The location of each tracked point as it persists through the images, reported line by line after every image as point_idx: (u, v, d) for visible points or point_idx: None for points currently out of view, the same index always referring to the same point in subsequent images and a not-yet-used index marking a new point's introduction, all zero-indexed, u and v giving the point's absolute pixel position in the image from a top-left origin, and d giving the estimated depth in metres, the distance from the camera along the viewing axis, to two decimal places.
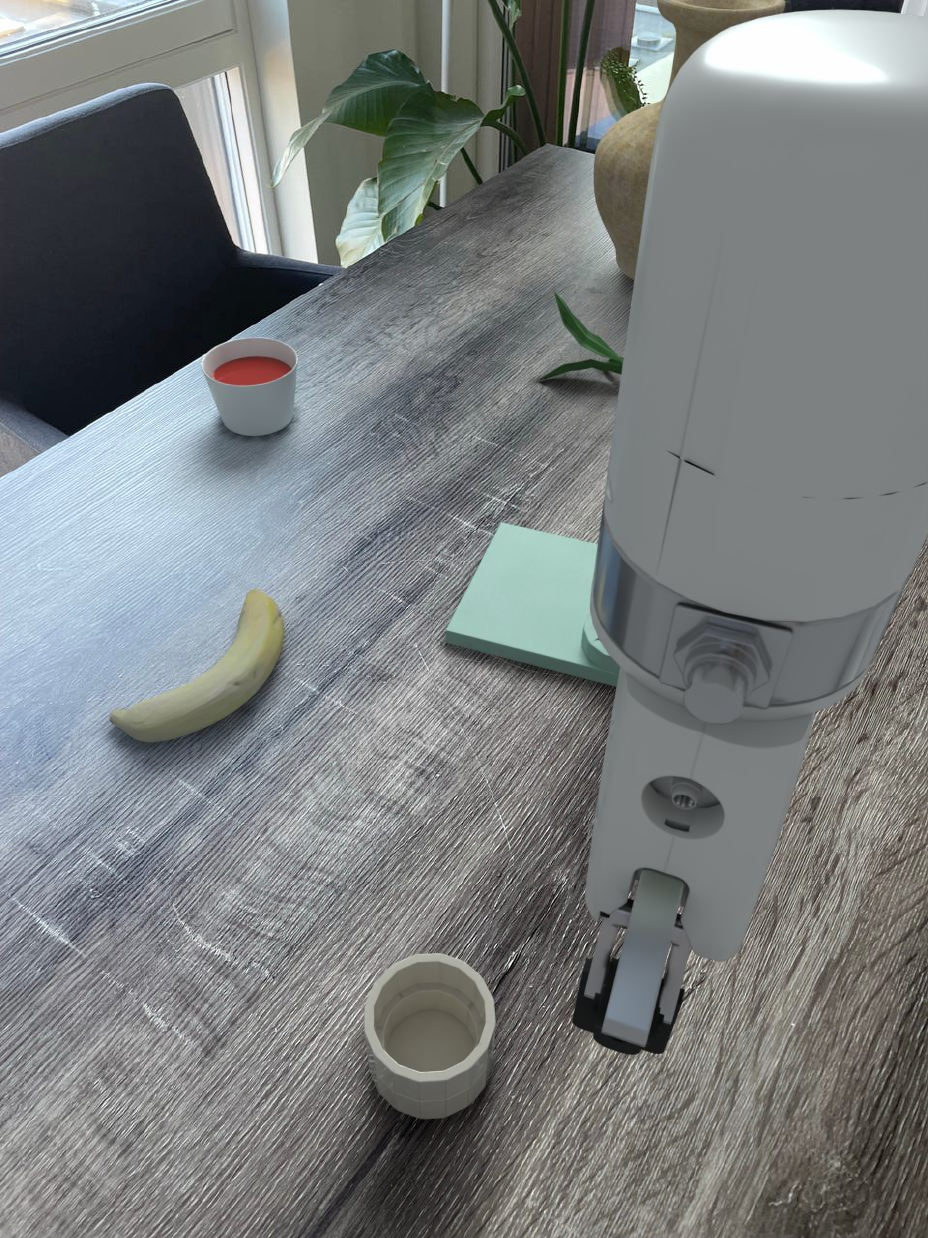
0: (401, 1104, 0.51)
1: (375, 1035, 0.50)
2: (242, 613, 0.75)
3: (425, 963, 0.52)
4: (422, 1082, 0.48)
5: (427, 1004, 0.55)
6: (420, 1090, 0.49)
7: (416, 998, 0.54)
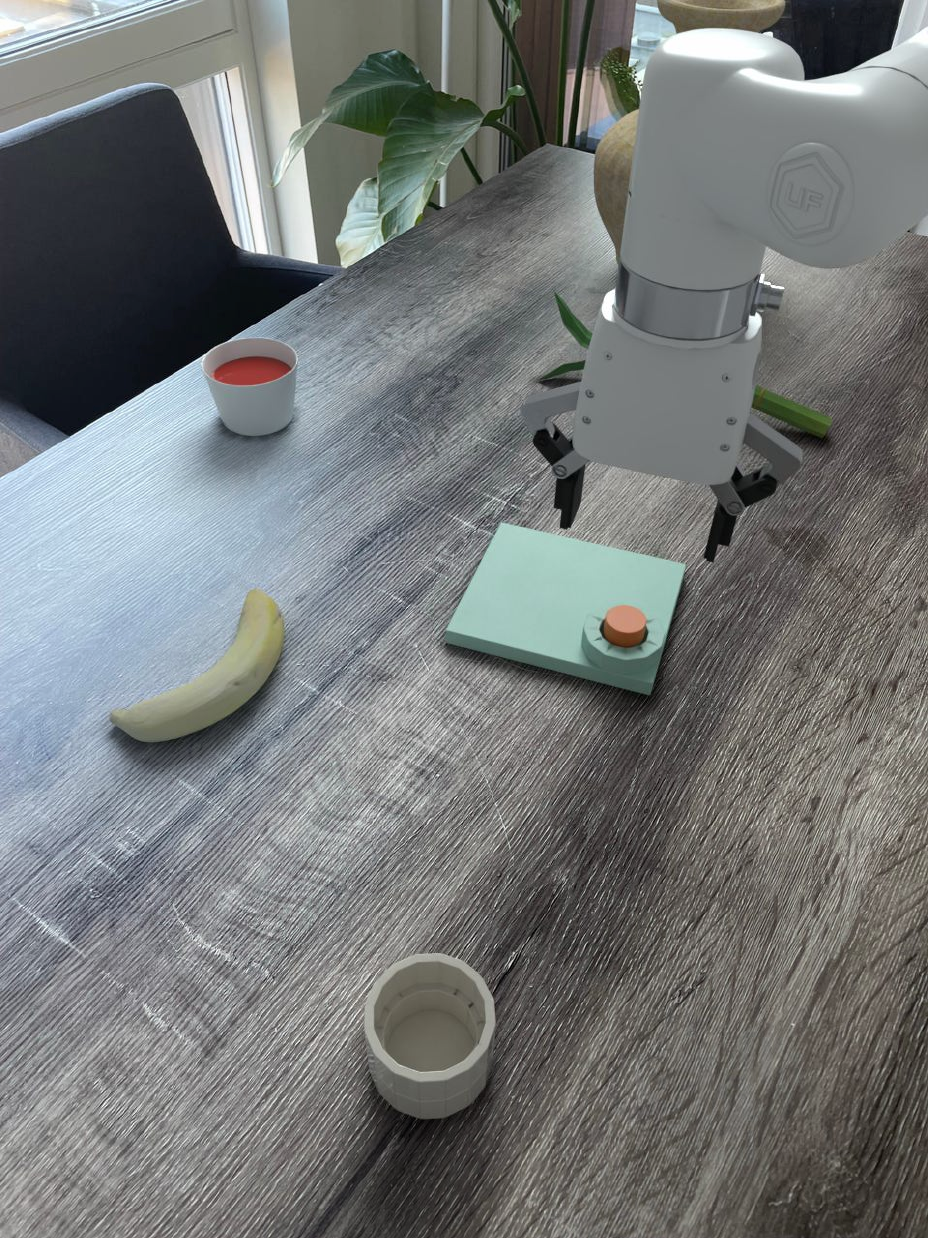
0: (401, 1104, 0.51)
1: (375, 1035, 0.50)
2: (242, 613, 0.75)
3: (425, 963, 0.52)
4: (422, 1082, 0.48)
5: (427, 1004, 0.55)
6: (420, 1090, 0.49)
7: (416, 998, 0.54)
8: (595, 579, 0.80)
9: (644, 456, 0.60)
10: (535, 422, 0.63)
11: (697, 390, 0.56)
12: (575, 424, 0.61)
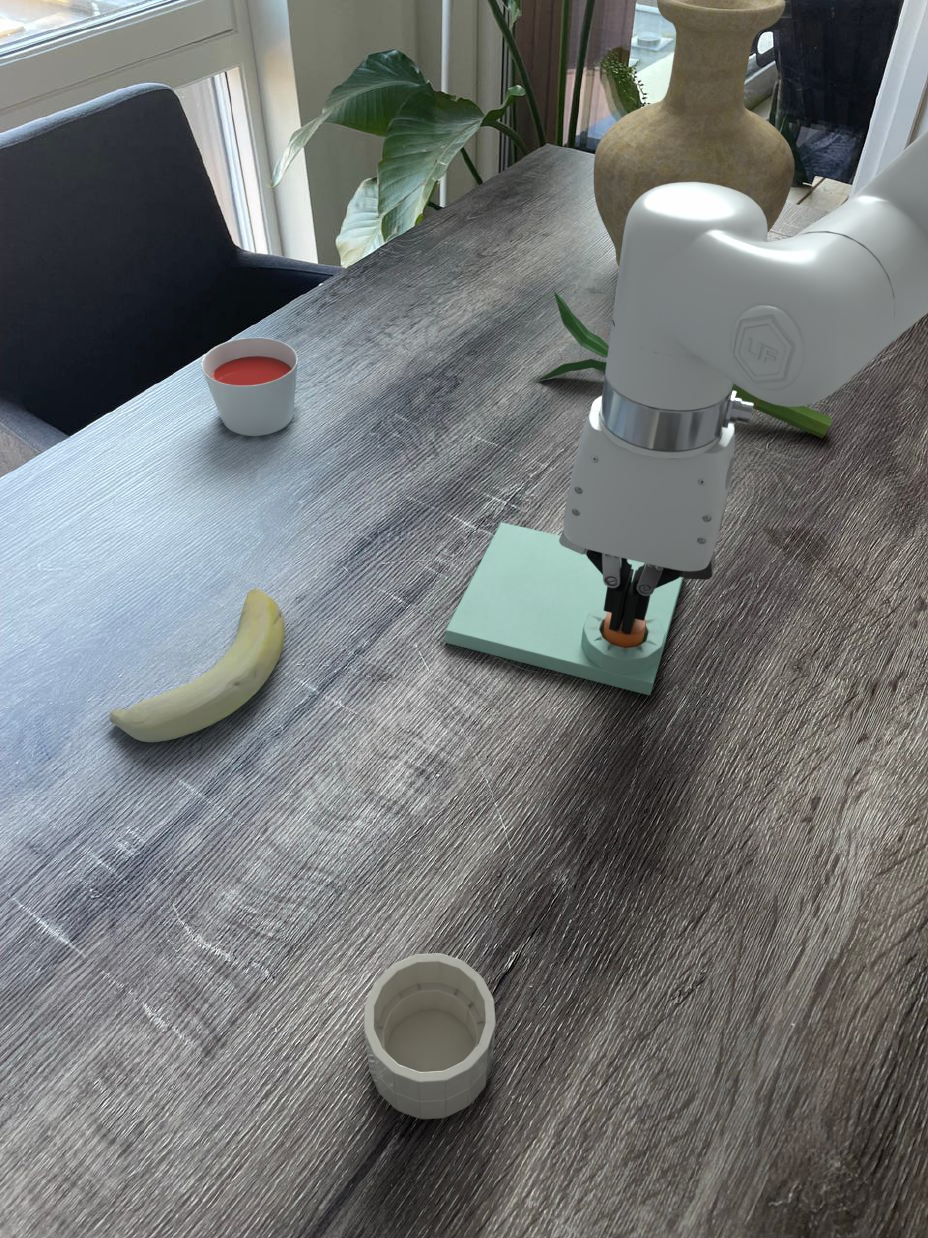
0: (401, 1104, 0.51)
1: (375, 1035, 0.50)
2: (242, 613, 0.75)
3: (425, 963, 0.52)
4: (422, 1082, 0.48)
5: (427, 1004, 0.55)
6: (420, 1090, 0.49)
7: (416, 998, 0.54)
8: (595, 579, 0.80)
9: (628, 545, 0.66)
10: (578, 545, 0.69)
11: (675, 491, 0.61)
12: (566, 515, 0.66)
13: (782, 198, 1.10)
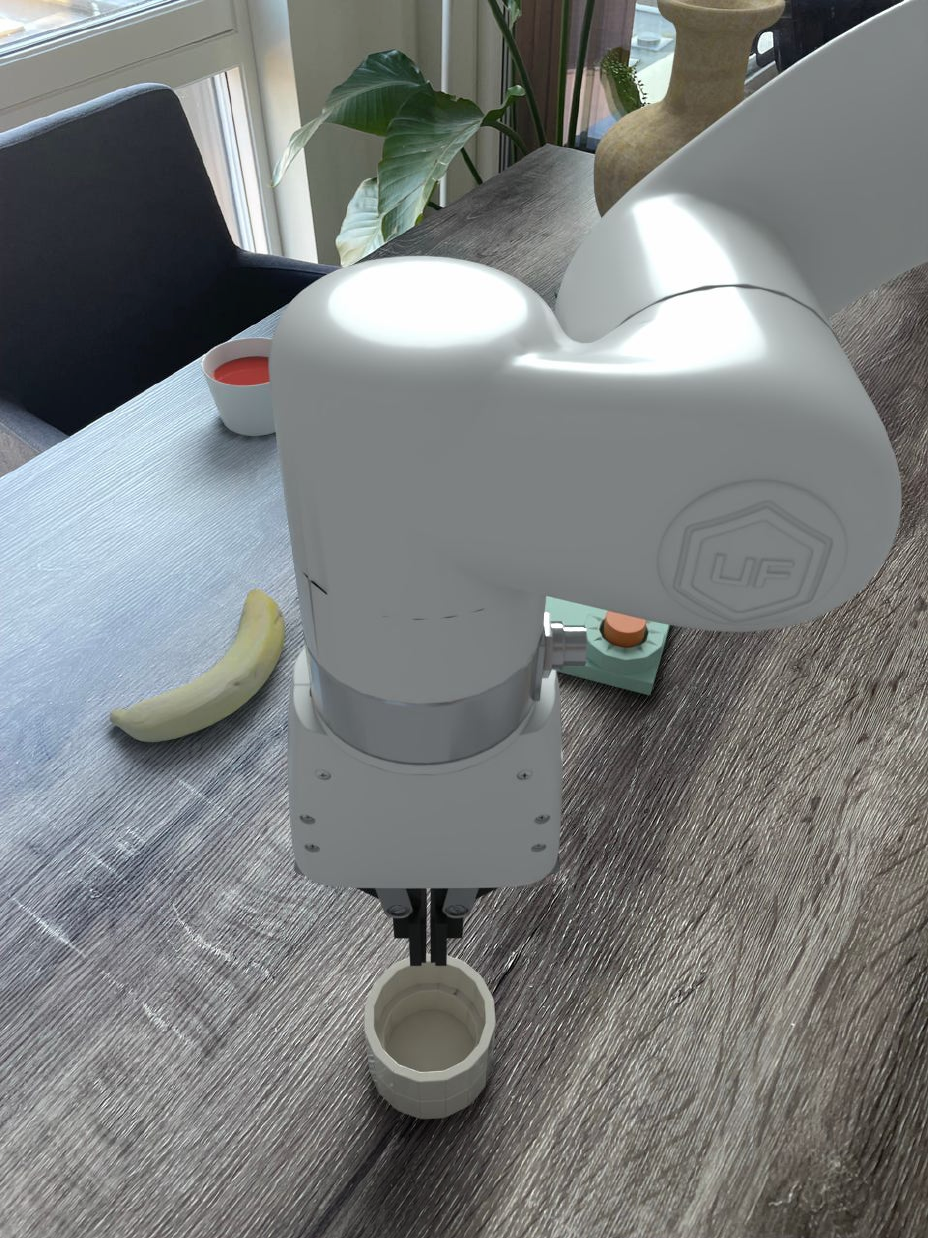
0: (401, 1104, 0.51)
1: (375, 1035, 0.50)
2: (243, 613, 0.75)
3: (425, 963, 0.52)
4: (422, 1082, 0.48)
5: (427, 1004, 0.55)
6: (420, 1090, 0.49)
7: (416, 998, 0.54)
8: None
9: (416, 874, 0.37)
10: None
11: (481, 798, 0.34)
12: (296, 851, 0.37)
13: None
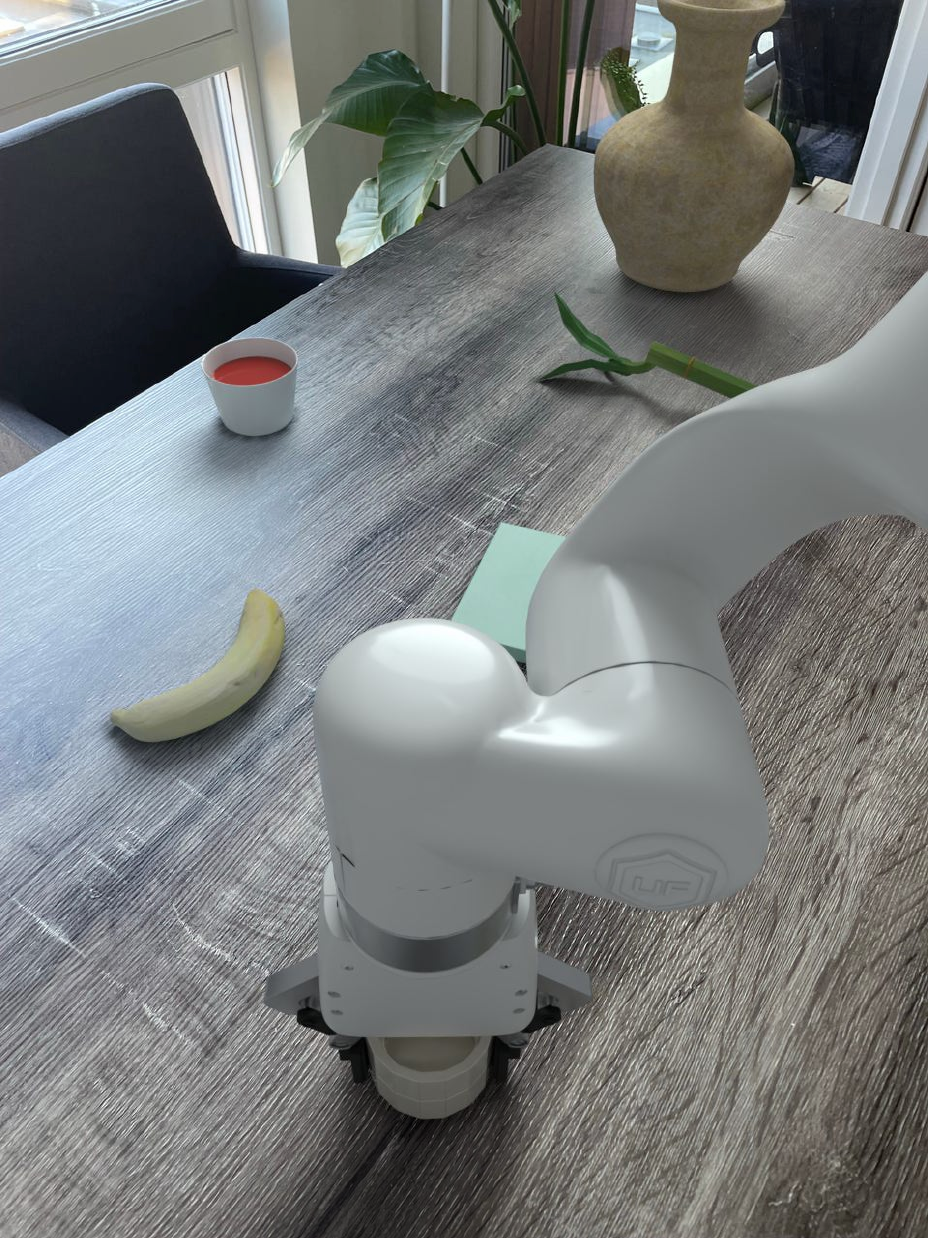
0: (401, 1104, 0.51)
1: None
2: (243, 613, 0.75)
3: None
4: (422, 1082, 0.48)
5: None
6: (420, 1090, 0.49)
7: None
8: None
9: (421, 1029, 0.46)
10: (289, 1008, 0.48)
11: (472, 982, 0.43)
12: (324, 1013, 0.46)
13: (782, 198, 1.10)
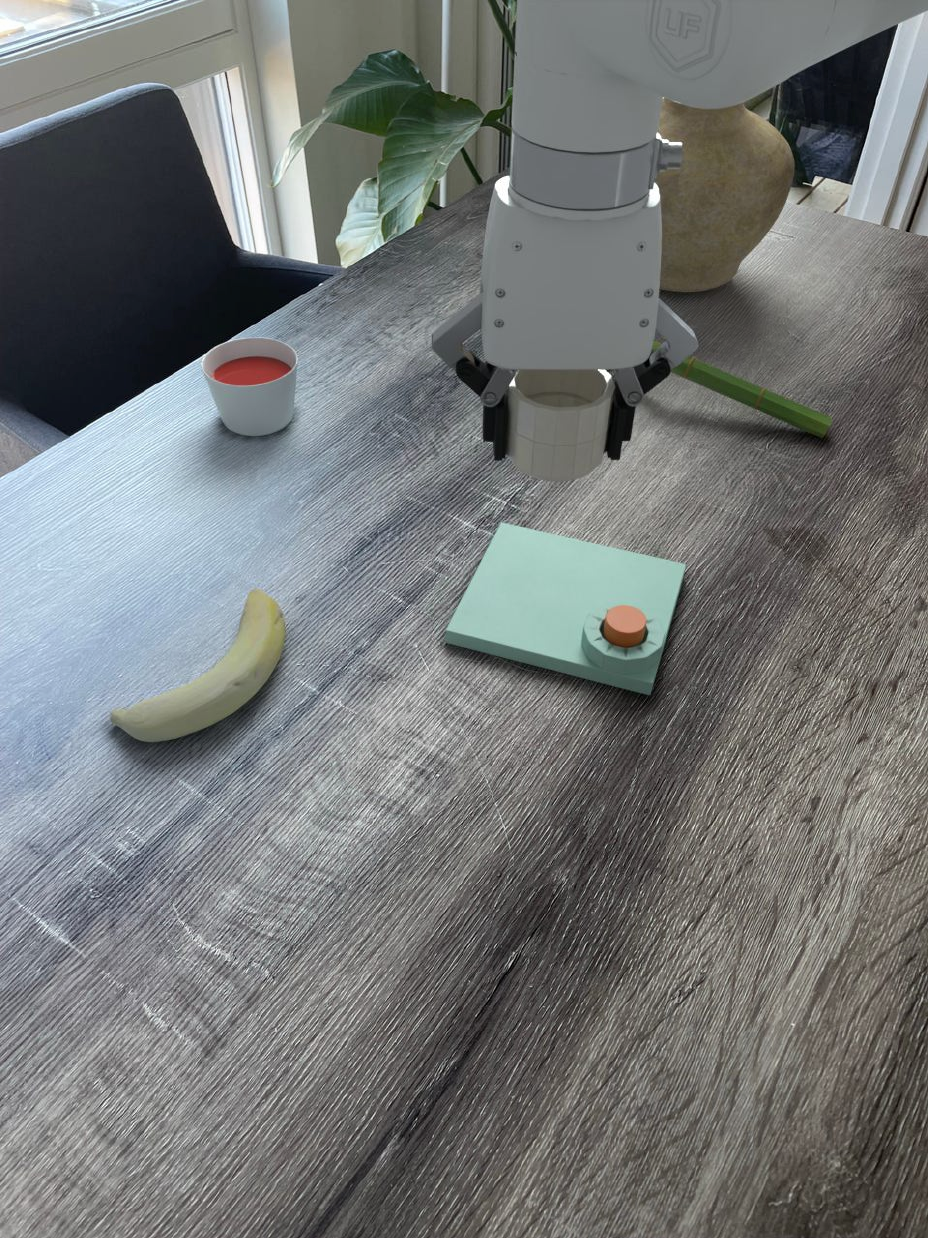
0: (537, 460, 0.62)
1: (518, 390, 0.61)
2: (243, 613, 0.75)
3: None
4: (560, 411, 0.59)
5: None
6: (557, 426, 0.60)
7: None
8: (595, 579, 0.80)
9: (563, 350, 0.58)
10: (452, 354, 0.59)
11: (613, 265, 0.54)
12: (486, 330, 0.57)
13: (782, 198, 1.10)
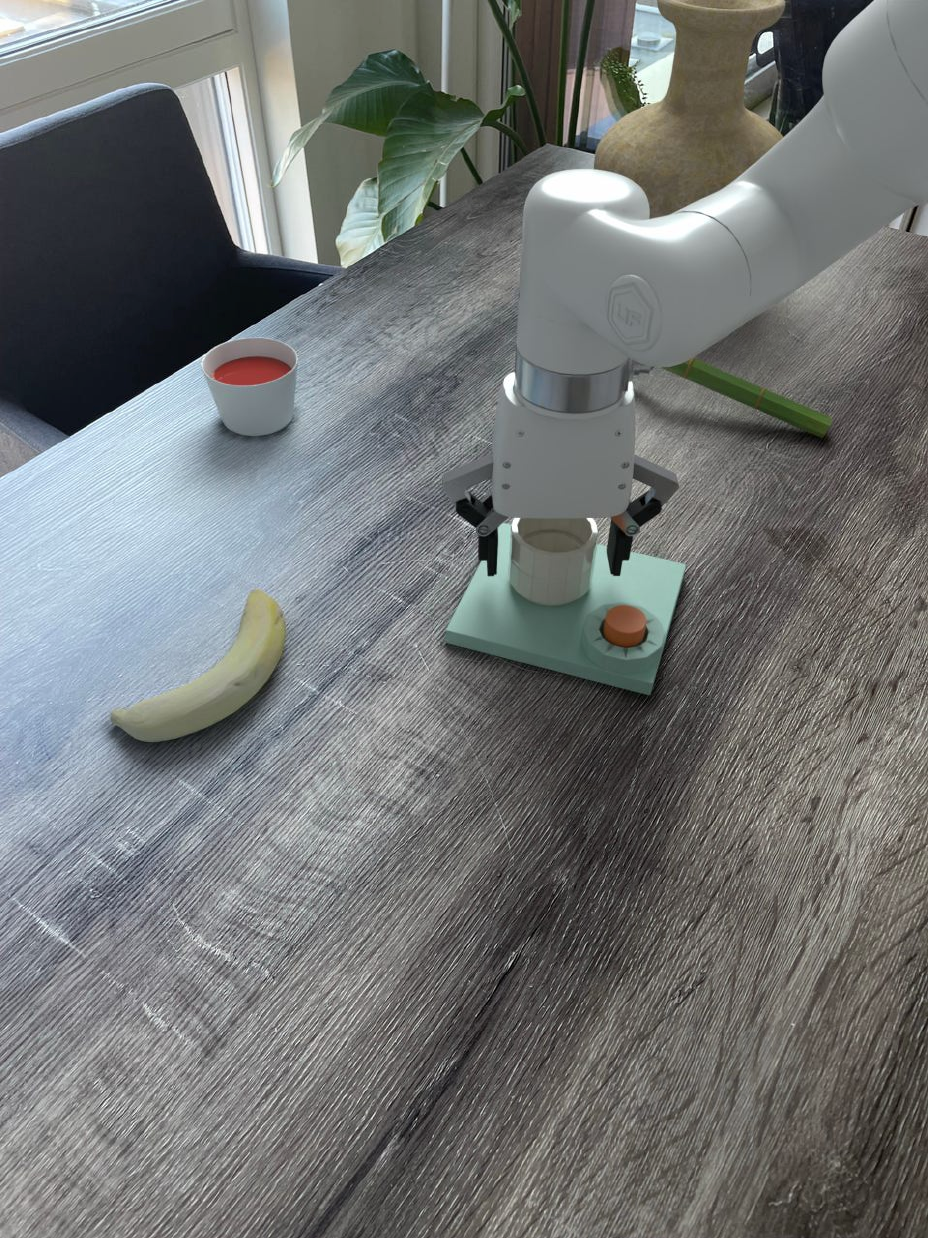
0: (535, 590, 0.77)
1: (520, 536, 0.75)
2: (244, 613, 0.75)
3: None
4: (554, 556, 0.74)
5: (546, 548, 0.81)
6: (551, 567, 0.75)
7: (539, 540, 0.80)
8: (595, 579, 0.80)
9: (557, 505, 0.72)
10: (456, 494, 0.73)
11: (597, 447, 0.68)
12: (496, 490, 0.71)
13: None
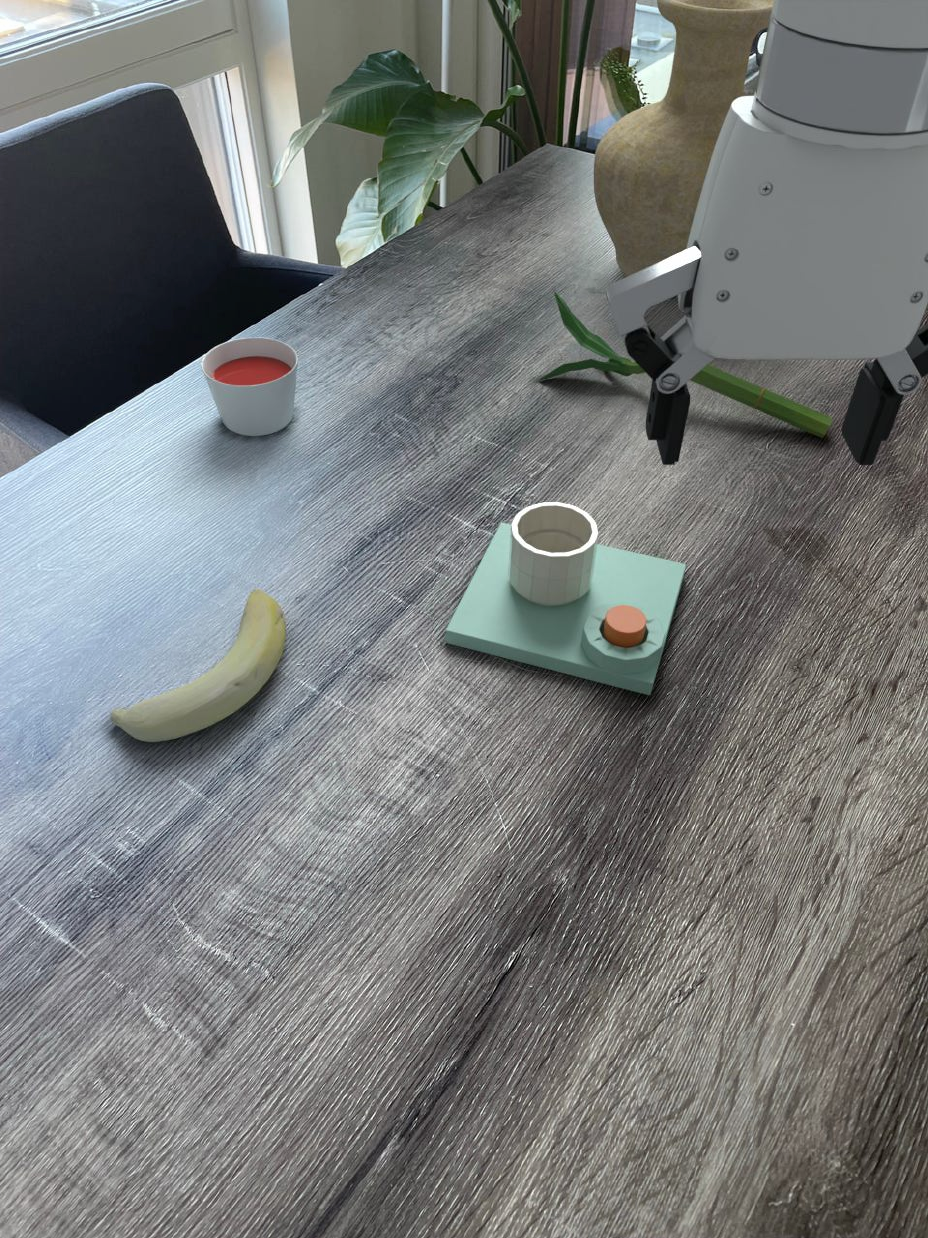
0: (535, 590, 0.77)
1: (520, 536, 0.75)
2: (244, 613, 0.75)
3: (548, 506, 0.78)
4: (554, 556, 0.74)
5: (546, 548, 0.81)
6: (551, 567, 0.75)
7: (539, 540, 0.80)
8: (595, 579, 0.80)
9: (802, 333, 0.43)
10: (630, 319, 0.45)
11: (893, 217, 0.40)
12: (704, 306, 0.43)
13: None
